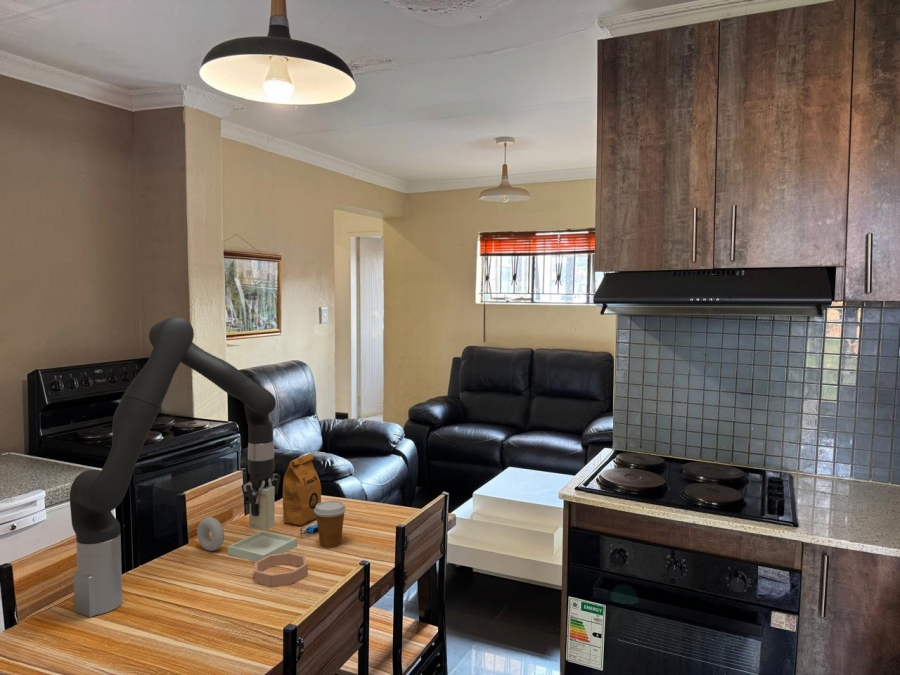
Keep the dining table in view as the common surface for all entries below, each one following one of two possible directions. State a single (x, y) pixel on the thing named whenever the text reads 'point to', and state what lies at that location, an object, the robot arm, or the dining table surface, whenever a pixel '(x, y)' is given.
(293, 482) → the coffee package
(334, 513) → the disposable coffee cup
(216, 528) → the donut
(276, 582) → the holder ring
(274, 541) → the tray
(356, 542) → the dining table surface
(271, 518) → the skincare box
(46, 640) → the dining table surface
